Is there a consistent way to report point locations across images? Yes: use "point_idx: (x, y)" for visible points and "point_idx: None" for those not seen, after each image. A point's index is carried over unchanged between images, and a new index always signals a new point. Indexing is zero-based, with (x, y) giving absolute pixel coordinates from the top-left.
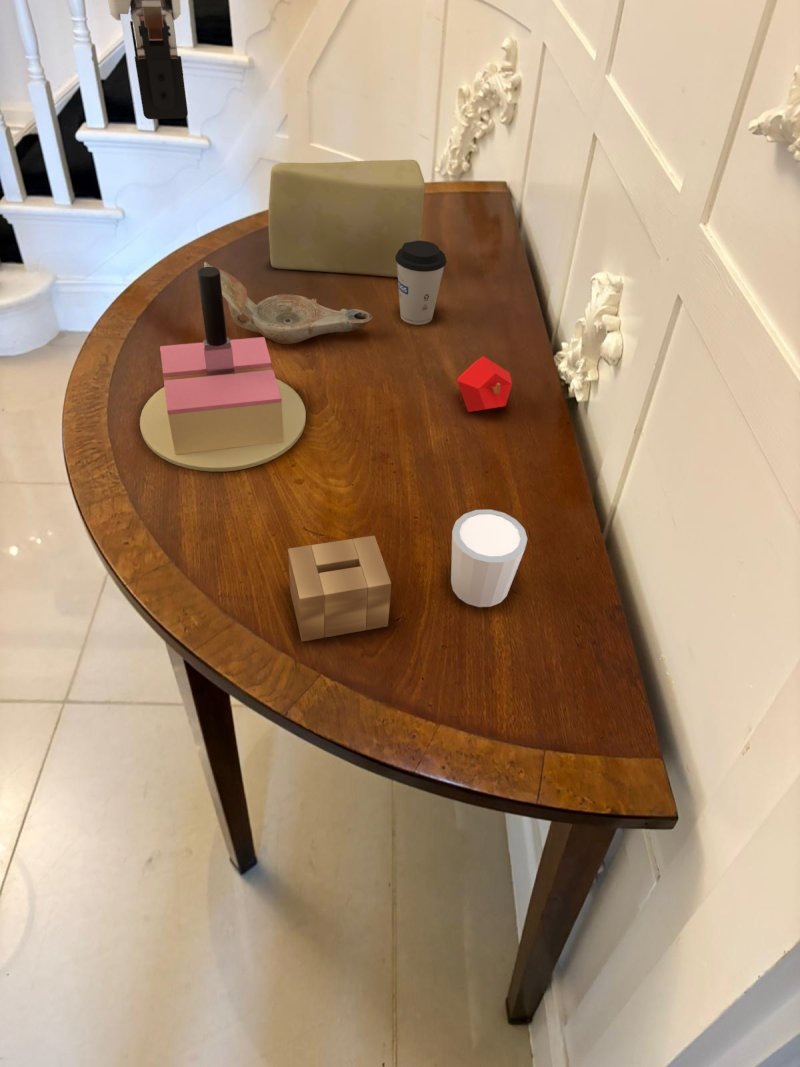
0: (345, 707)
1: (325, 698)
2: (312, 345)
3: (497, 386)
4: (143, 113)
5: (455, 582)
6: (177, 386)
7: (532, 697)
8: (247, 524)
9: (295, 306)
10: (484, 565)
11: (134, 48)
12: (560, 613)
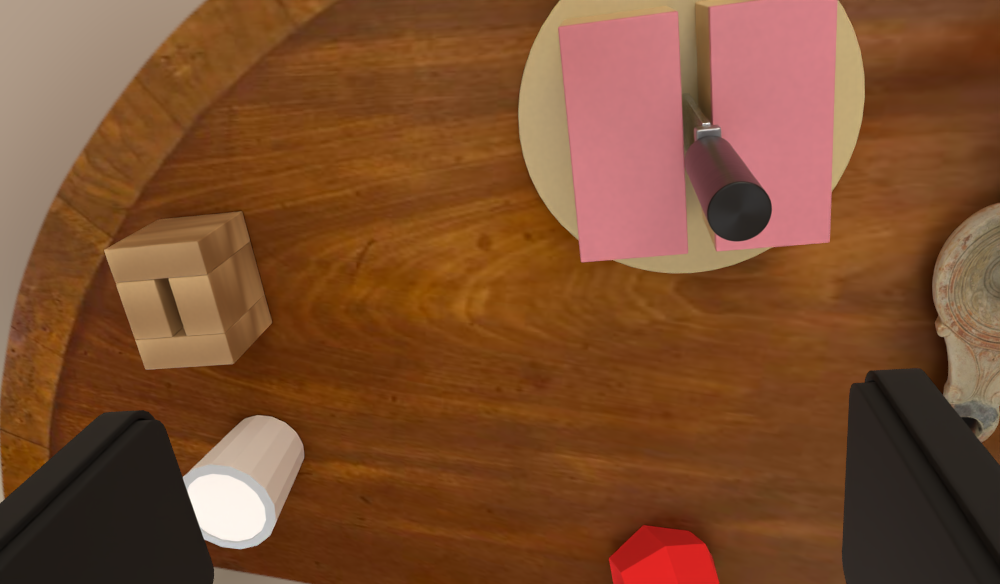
0: (70, 261)
1: (78, 240)
2: (930, 306)
3: None
4: (101, 416)
5: (241, 427)
6: (648, 45)
7: None
8: (382, 153)
9: None
10: None
11: (949, 472)
12: None
